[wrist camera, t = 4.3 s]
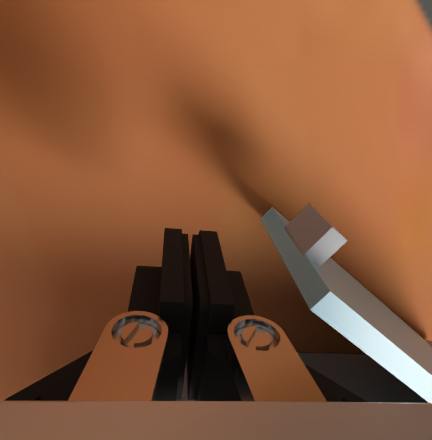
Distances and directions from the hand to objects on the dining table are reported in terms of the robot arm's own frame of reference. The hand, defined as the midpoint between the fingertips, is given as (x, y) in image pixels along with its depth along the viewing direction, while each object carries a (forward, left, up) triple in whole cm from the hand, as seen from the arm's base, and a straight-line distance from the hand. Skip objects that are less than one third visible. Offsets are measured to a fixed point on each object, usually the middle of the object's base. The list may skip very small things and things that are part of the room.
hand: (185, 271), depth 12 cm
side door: (-10, +3, -5) cm, 12 cm away
